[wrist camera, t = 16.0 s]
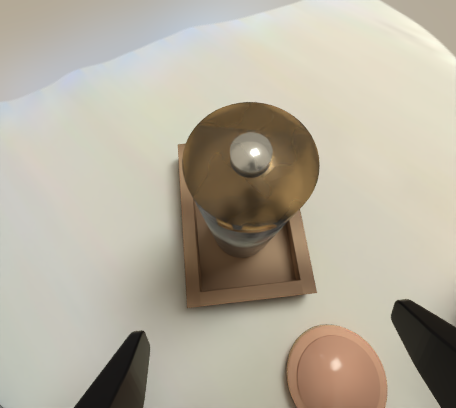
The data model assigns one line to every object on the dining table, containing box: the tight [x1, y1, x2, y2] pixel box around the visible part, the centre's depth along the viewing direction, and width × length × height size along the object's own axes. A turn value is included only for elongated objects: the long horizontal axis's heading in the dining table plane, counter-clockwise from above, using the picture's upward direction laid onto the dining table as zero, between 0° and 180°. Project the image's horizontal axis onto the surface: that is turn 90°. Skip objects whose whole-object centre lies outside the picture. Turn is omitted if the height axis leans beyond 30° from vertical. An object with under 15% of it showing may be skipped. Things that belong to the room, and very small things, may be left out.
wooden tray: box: [178, 144, 317, 308], centre depth 21 cm, size 14×10×2 cm
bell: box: [182, 102, 319, 258], centre depth 15 cm, size 5×5×14 cm
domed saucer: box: [286, 325, 387, 408], centre depth 18 cm, size 7×7×1 cm
